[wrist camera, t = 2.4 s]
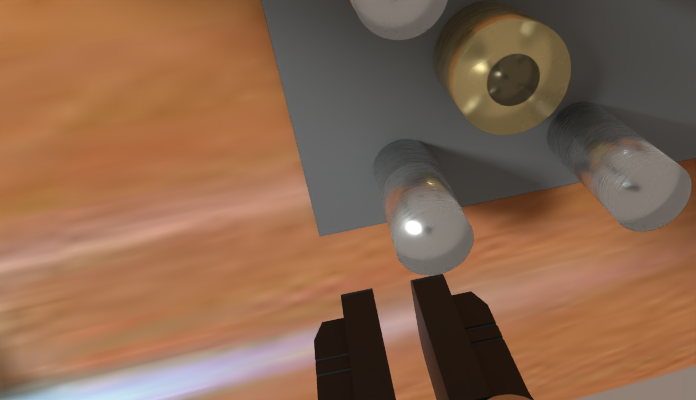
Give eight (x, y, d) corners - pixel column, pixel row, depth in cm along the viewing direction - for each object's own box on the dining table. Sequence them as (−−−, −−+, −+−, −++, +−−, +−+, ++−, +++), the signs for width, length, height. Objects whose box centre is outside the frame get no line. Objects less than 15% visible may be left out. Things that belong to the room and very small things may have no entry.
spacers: (328, -72, 25) (343, -52, 18) (618, -133, 24) (730, -134, 18) (378, 200, 31) (401, 282, 25) (608, 153, 31) (687, 222, 25)
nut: (427, 12, 27) (450, 34, 23) (533, -10, 27) (571, 8, 23) (439, 111, 29) (460, 145, 25) (536, 91, 29) (571, 122, 25)
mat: (239, -93, 24) (238, -92, 24) (1060, -267, 24) (1075, -269, 24) (319, 231, 32) (319, 236, 32) (939, 102, 32) (948, 105, 32)
